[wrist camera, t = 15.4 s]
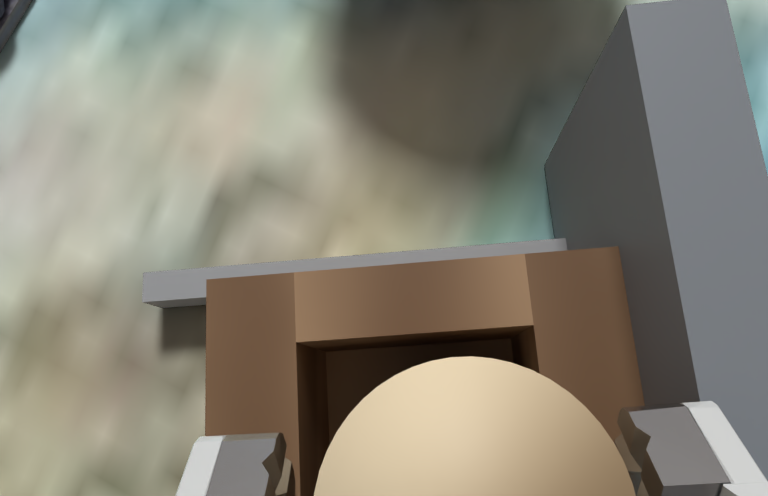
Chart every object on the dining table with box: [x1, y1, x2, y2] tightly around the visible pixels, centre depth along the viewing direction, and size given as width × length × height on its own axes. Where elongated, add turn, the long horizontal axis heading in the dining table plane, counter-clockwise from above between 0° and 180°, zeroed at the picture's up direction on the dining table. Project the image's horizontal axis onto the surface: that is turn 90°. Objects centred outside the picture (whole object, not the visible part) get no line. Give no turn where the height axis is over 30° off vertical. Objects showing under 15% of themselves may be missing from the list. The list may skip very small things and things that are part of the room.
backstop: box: [142, 0, 768, 481], centre depth 15 cm, size 16×18×9 cm
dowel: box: [314, 356, 636, 496], centre depth 12 cm, size 4×4×10 cm
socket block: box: [205, 246, 645, 496], centre depth 16 cm, size 10×9×6 cm
